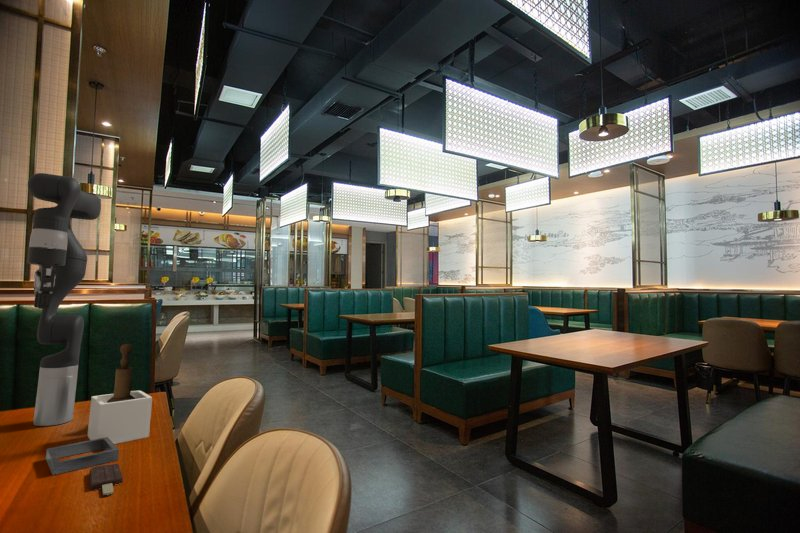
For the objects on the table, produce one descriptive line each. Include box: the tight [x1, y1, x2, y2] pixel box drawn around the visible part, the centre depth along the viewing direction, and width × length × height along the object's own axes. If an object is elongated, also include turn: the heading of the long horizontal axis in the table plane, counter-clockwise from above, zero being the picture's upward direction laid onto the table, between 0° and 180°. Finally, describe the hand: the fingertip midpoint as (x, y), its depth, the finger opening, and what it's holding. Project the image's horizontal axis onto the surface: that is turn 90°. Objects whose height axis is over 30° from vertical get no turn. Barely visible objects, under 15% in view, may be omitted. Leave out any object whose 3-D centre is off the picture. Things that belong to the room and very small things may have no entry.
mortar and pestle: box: [107, 343, 135, 403], centre depth 112 cm, size 7×6×18 cm
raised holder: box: [87, 390, 153, 445], centre depth 110 cm, size 12×12×11 cm
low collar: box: [45, 437, 120, 476], centre depth 94 cm, size 12×12×2 cm
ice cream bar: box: [89, 463, 124, 496], centre depth 83 cm, size 5×2×15 cm
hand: (41, 308), depth 102 cm, fingers open, 8 cm apart
